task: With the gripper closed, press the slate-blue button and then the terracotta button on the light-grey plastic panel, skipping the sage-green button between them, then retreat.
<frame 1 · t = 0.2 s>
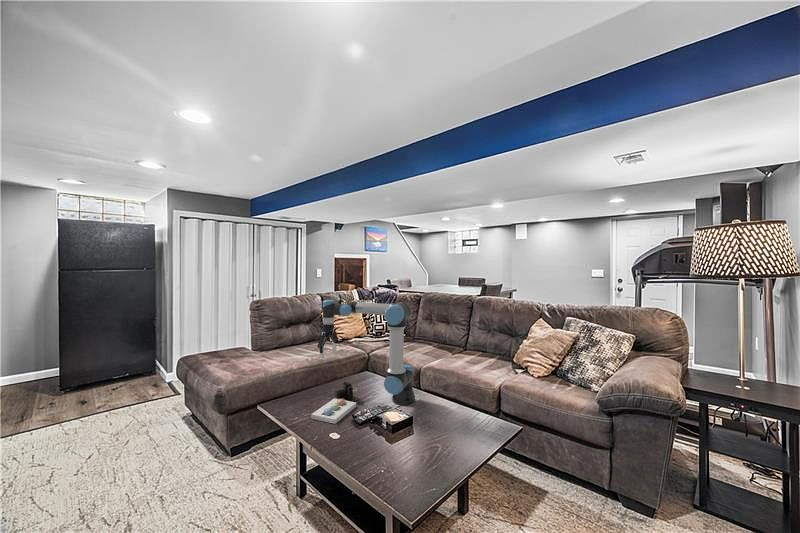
hand: (328, 355, 223), 28 cm above the table, fingers open, 13 cm apart
button terracotta: (340, 402, 207), point 3 cm above the table, slide at 0.0 cm
button slate: (328, 412, 194), point 3 cm above the table, slide at 0.0 cm
panel: (334, 412, 200), on the table
button sage: (334, 407, 200), point 3 cm above the table, slide at 0.0 cm
camera: (343, 399, 220), on the table
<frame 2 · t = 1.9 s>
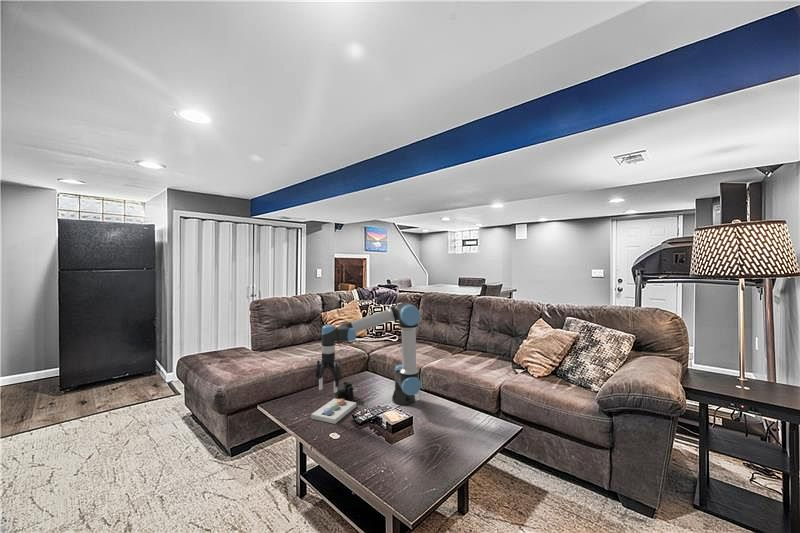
hand: (328, 390, 194), 16 cm above the table, fingers open, 9 cm apart
nothing on the table moved.
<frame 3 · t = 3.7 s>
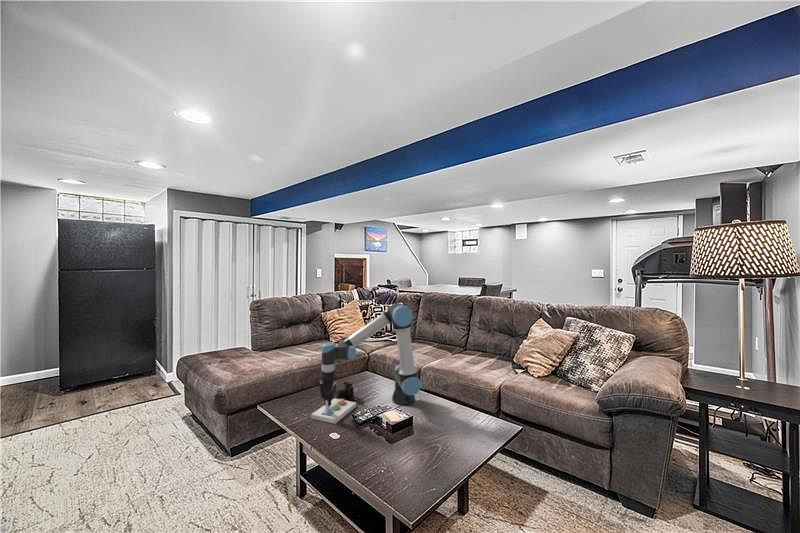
hand: (327, 410, 194), 4 cm above the table, fingers closed
button slate: (328, 413, 194), point 2 cm above the table, slide at 0.9 cm, touching gripper
everything else where it was.
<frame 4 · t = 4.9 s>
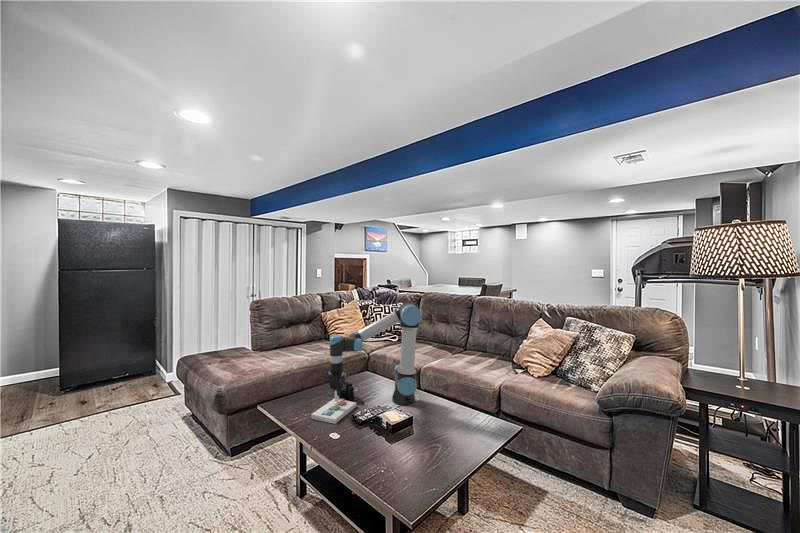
hand: (336, 400, 201), 7 cm above the table, fingers closed
button slate: (328, 414, 194), point 2 cm above the table, slide at 1.1 cm
everything else where it was.
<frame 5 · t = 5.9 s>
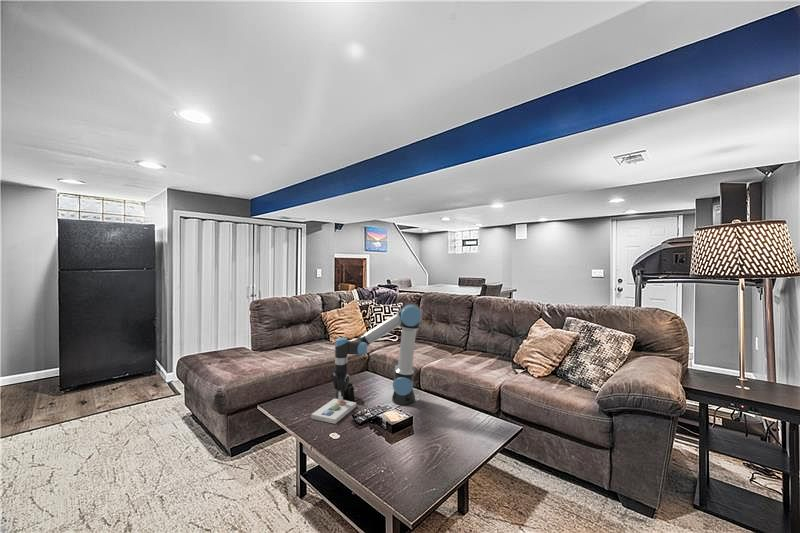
hand: (340, 401, 207), 4 cm above the table, fingers closed
button terracotta: (340, 404, 207), point 2 cm above the table, slide at 0.8 cm, touching gripper
everything else where it was.
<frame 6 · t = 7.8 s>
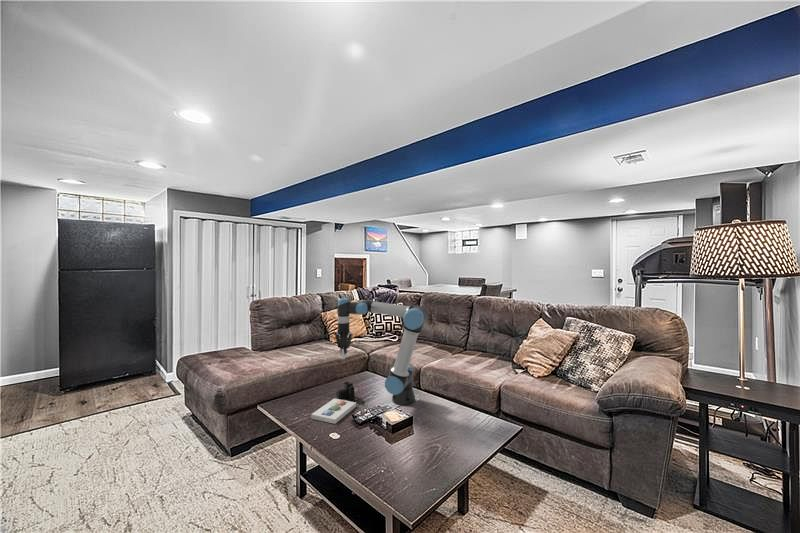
hand: (343, 358, 218), 27 cm above the table, fingers closed
button terracotta: (340, 404, 207), point 2 cm above the table, slide at 1.1 cm
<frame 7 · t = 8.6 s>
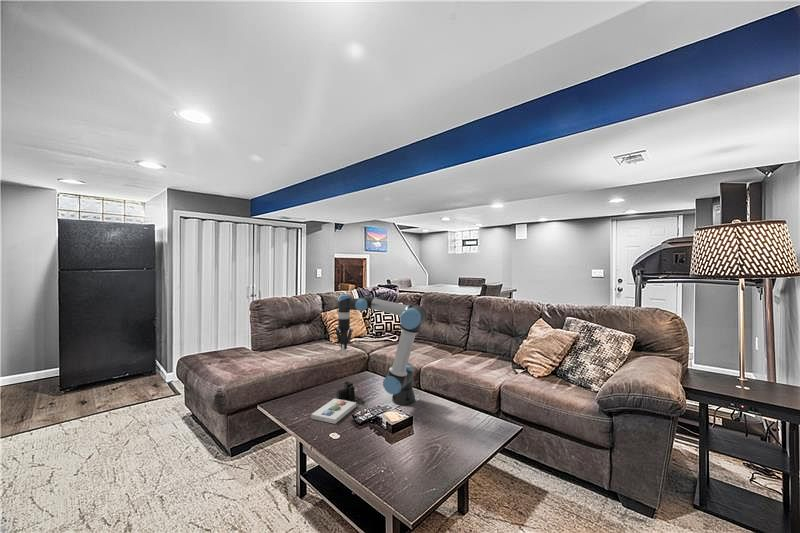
hand: (343, 353, 221), 29 cm above the table, fingers closed
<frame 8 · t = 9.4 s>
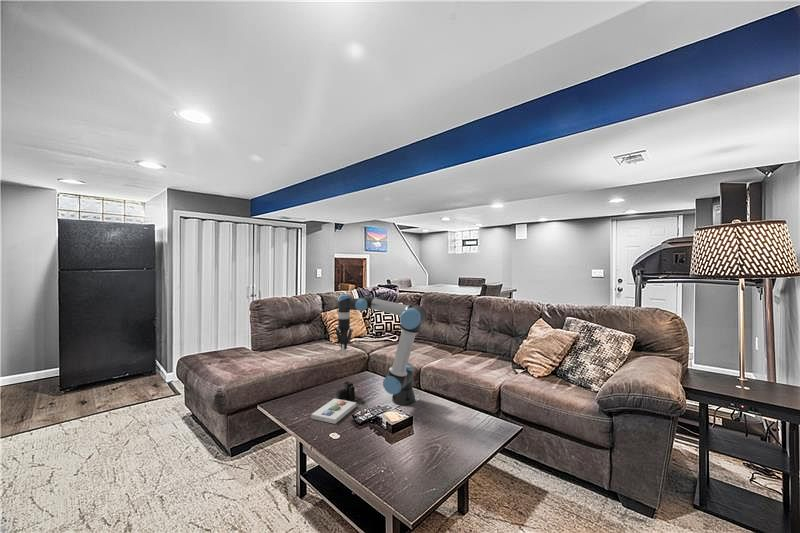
hand: (343, 353, 221), 29 cm above the table, fingers closed
at the end: button slate slide at 1.1 cm; button terracotta slide at 1.1 cm; button sage slide at 0.0 cm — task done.
